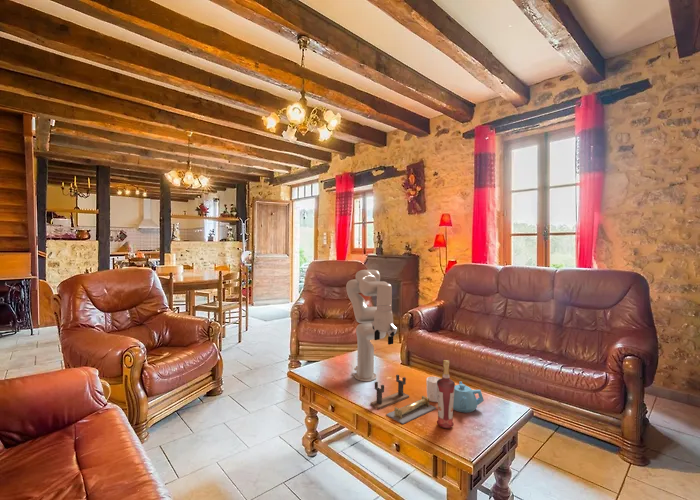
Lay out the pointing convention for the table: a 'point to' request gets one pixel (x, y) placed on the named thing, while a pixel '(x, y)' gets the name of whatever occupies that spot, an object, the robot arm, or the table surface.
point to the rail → (411, 407)
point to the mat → (412, 414)
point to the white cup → (432, 388)
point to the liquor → (445, 398)
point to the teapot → (466, 398)
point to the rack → (392, 398)
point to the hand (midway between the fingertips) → (383, 341)
